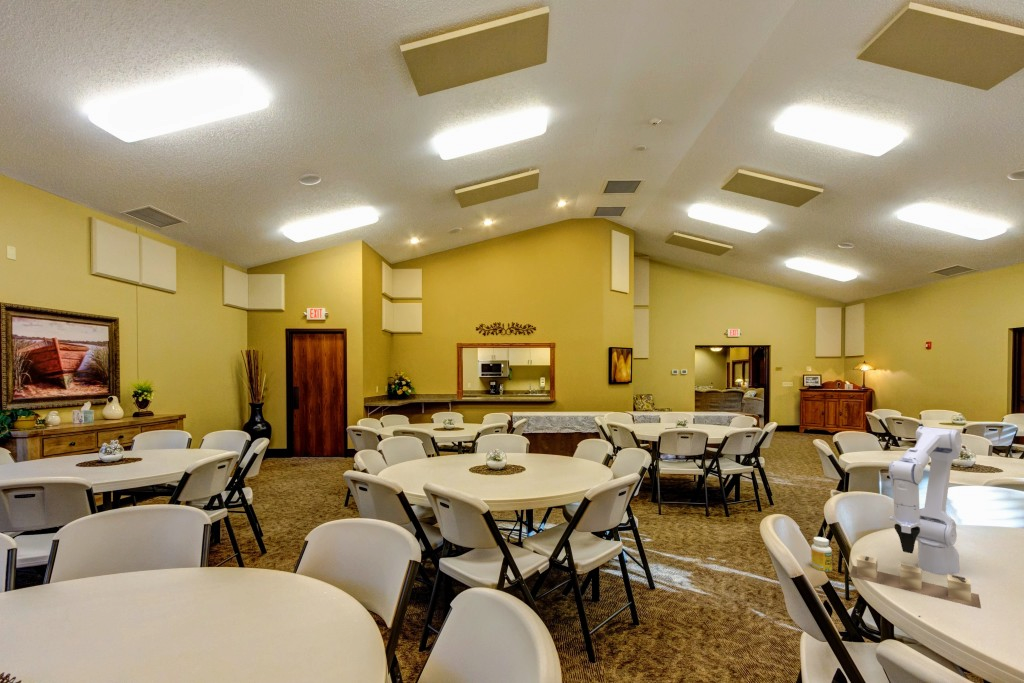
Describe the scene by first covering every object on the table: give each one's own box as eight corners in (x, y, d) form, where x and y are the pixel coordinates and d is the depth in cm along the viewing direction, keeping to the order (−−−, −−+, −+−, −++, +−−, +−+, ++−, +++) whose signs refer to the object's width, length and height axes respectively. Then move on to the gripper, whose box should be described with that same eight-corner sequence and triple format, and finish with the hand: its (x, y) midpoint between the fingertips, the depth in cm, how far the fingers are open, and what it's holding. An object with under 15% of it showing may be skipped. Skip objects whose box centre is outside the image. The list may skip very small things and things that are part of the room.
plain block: (900, 585, 137) (900, 568, 137) (901, 579, 140) (900, 564, 140) (921, 590, 134) (920, 573, 134) (921, 584, 137) (921, 568, 137)
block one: (857, 574, 143) (856, 558, 143) (858, 569, 147) (858, 553, 147) (876, 579, 140) (875, 562, 140) (877, 574, 144) (877, 557, 144)
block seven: (948, 596, 130) (947, 578, 130) (947, 590, 133) (947, 573, 133) (971, 602, 127) (970, 583, 127) (970, 596, 130) (969, 577, 131)
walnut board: (848, 579, 142) (848, 576, 142) (853, 568, 150) (853, 565, 150) (981, 612, 124) (981, 608, 124) (978, 598, 131) (978, 594, 131)
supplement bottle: (816, 565, 152) (816, 534, 152) (835, 572, 147) (835, 540, 148) (808, 569, 149) (807, 538, 149) (827, 576, 144) (826, 543, 145)
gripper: (890, 496, 147) (891, 541, 147) (887, 506, 136) (888, 555, 136) (920, 500, 143) (922, 547, 142) (919, 512, 132) (921, 562, 131)
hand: (907, 552), depth 139 cm, fingers closed
